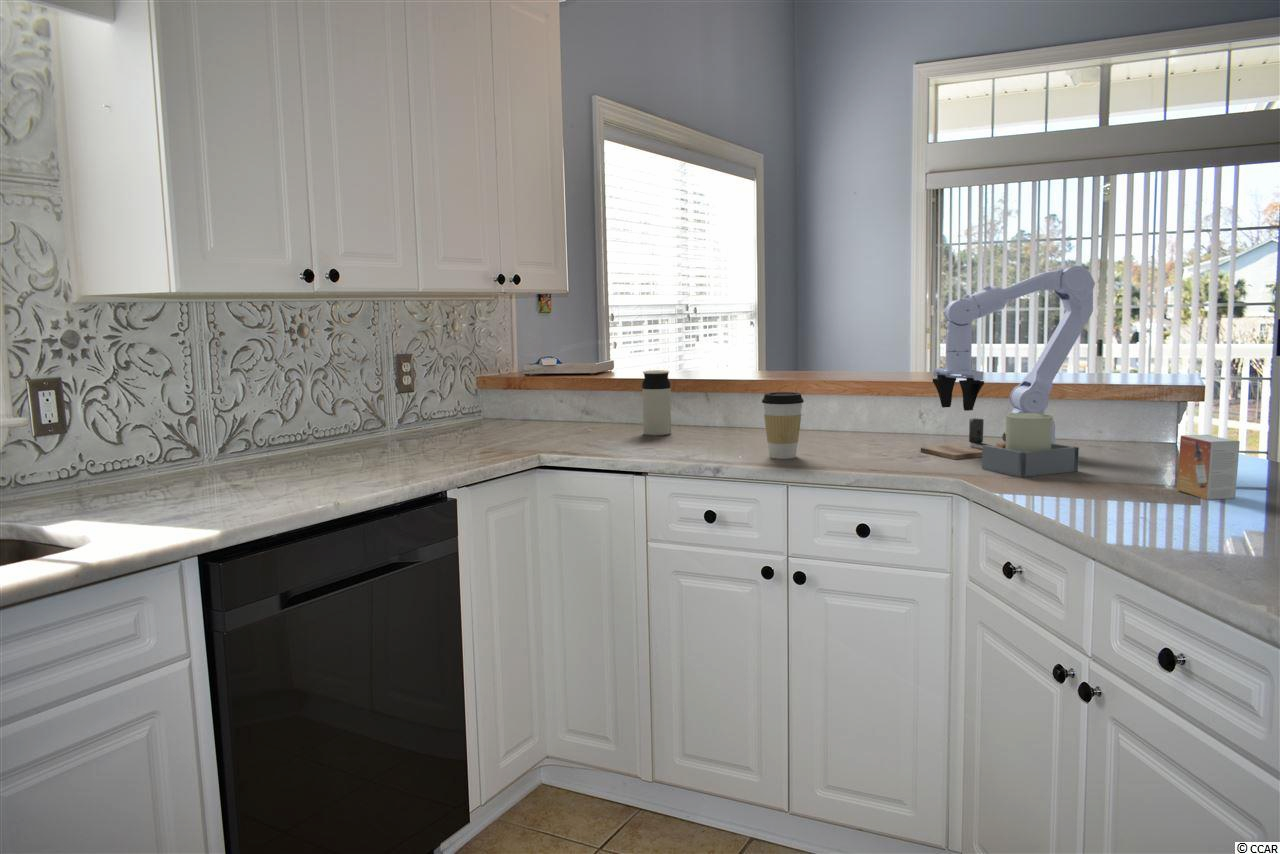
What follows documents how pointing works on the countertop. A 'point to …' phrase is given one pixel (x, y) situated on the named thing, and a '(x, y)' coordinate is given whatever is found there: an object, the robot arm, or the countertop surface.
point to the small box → (1208, 466)
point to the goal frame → (1031, 460)
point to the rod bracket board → (953, 451)
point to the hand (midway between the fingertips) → (957, 408)
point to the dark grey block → (980, 435)
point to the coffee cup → (782, 423)
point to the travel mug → (656, 403)
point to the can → (1028, 432)
